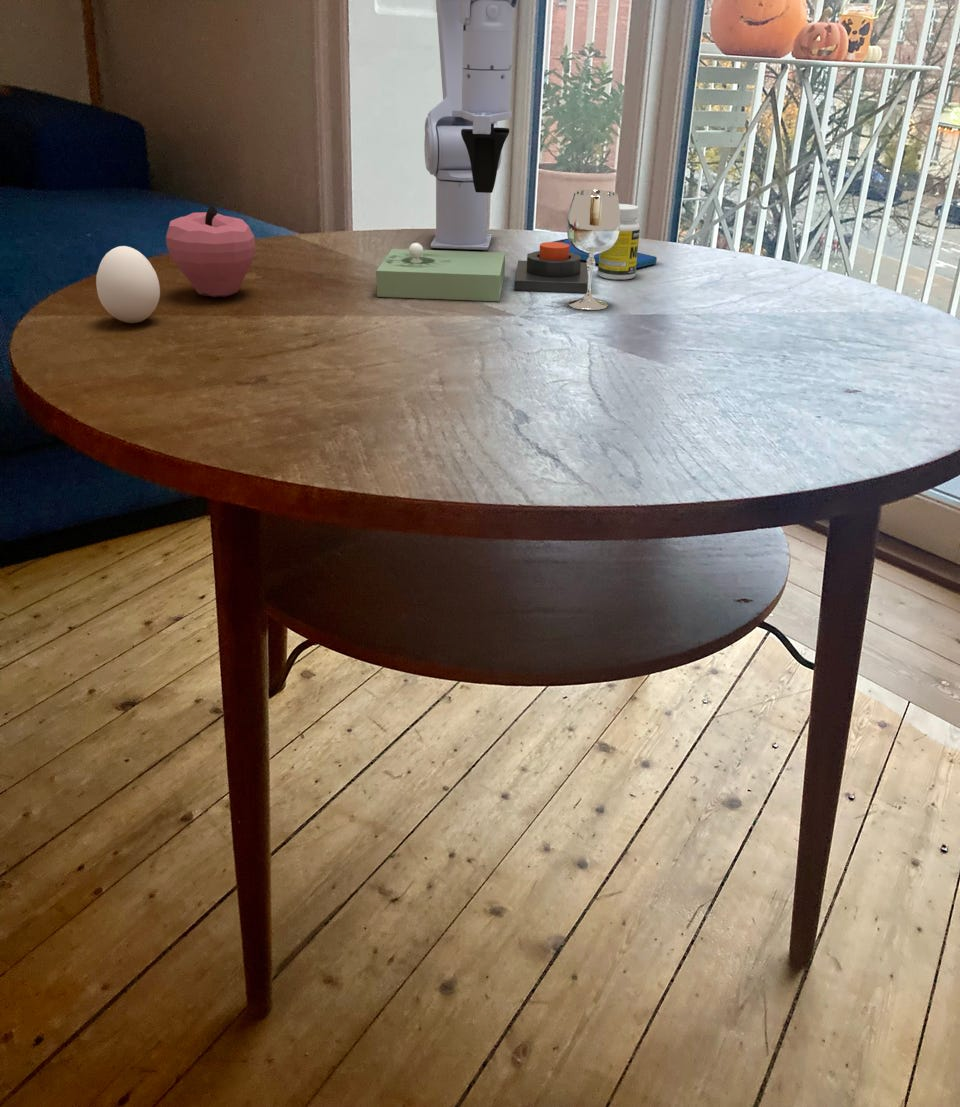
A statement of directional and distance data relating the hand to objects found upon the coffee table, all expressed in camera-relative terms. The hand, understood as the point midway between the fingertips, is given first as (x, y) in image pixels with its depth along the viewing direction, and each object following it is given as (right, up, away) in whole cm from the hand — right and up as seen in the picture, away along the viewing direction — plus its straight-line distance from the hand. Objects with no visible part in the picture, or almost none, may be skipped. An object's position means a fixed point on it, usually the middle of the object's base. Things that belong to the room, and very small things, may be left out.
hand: (484, 191), depth 122 cm
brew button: (+8, -9, -2) cm, 12 cm away
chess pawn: (-8, -13, -4) cm, 16 cm away
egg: (-36, -21, -20) cm, 46 cm away
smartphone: (+15, -5, +12) cm, 20 cm away
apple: (-30, -15, -10) cm, 35 cm away
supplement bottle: (+17, -10, +3) cm, 20 cm away
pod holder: (-5, -13, -4) cm, 14 cm away
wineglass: (+12, -17, -10) cm, 23 cm away
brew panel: (+8, -11, 0) cm, 14 cm away
